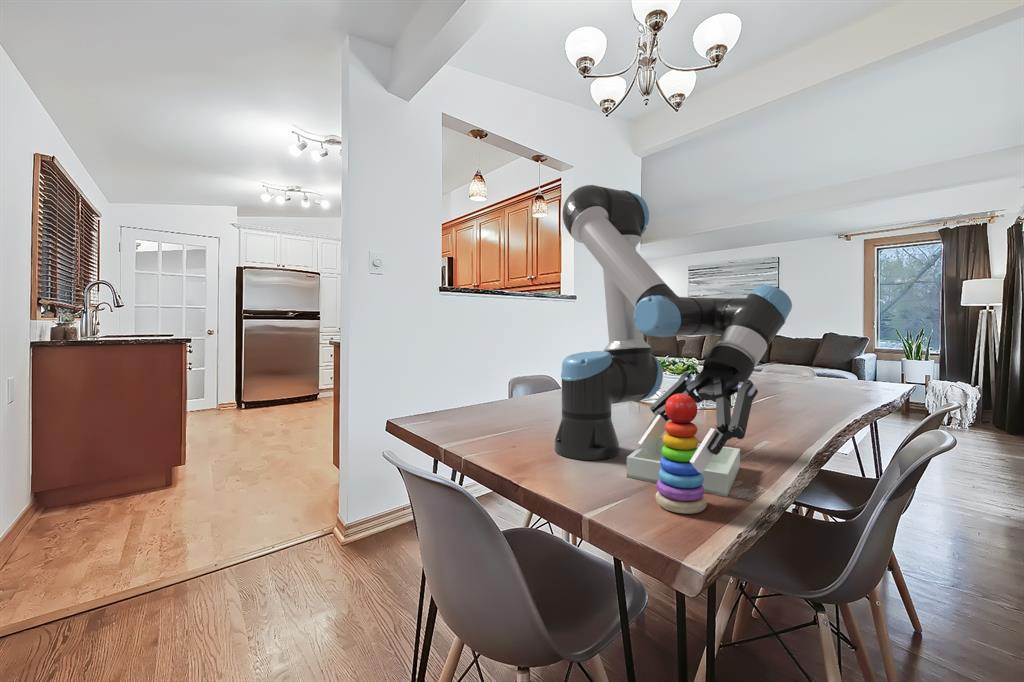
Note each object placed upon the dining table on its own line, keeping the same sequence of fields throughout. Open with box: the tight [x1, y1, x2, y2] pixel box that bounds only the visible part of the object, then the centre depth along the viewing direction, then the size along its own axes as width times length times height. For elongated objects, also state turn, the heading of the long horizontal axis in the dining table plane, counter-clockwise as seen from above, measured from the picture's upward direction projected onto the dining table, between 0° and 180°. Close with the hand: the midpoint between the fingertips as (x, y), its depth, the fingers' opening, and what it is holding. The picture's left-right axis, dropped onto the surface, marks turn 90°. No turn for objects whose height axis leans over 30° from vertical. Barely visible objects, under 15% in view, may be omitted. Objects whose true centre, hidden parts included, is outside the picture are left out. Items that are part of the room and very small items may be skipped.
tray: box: [626, 437, 741, 498], centre depth 88 cm, size 18×18×4 cm
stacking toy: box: [655, 394, 708, 515], centre depth 72 cm, size 8×8×19 cm
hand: (667, 457), depth 71 cm, fingers open, 10 cm apart
